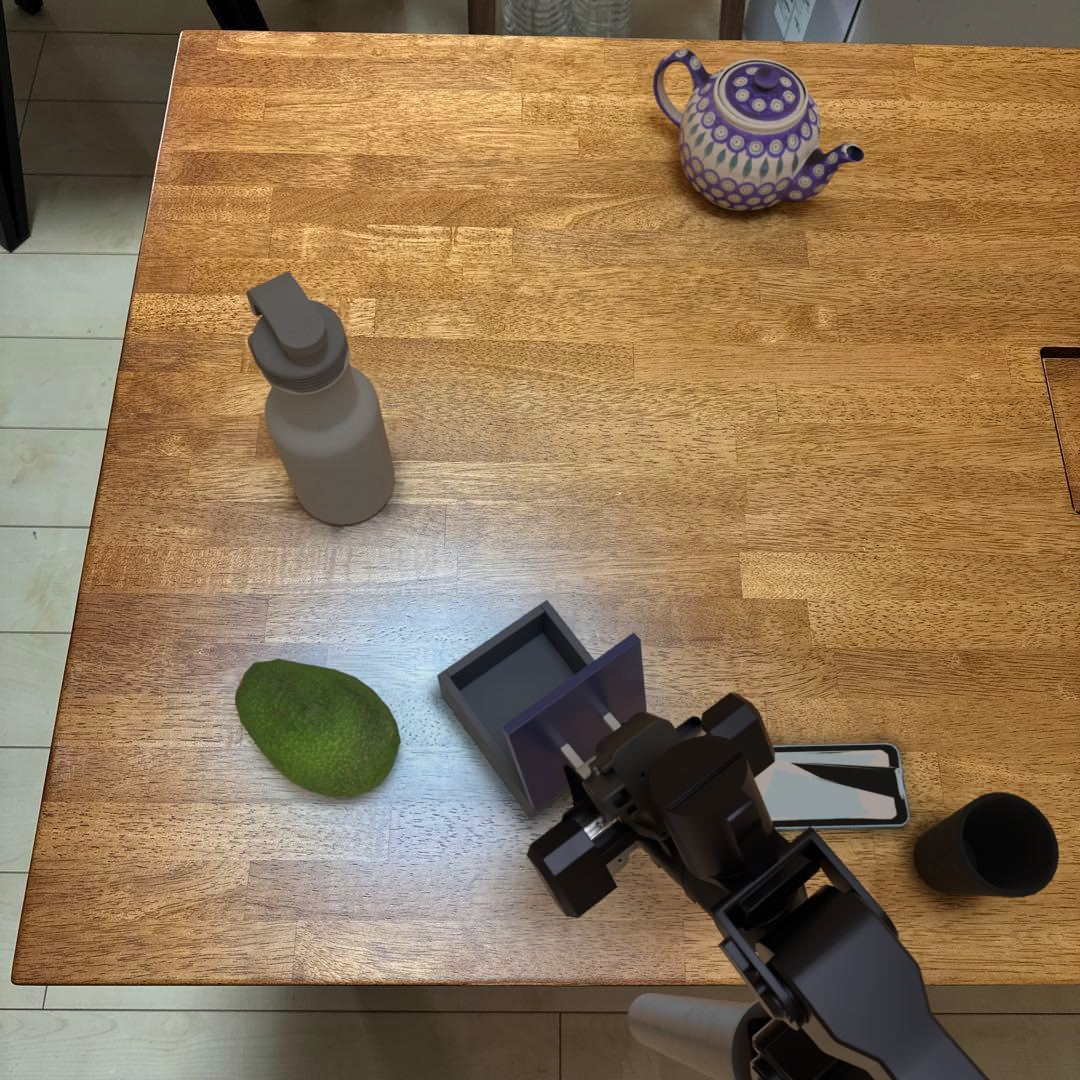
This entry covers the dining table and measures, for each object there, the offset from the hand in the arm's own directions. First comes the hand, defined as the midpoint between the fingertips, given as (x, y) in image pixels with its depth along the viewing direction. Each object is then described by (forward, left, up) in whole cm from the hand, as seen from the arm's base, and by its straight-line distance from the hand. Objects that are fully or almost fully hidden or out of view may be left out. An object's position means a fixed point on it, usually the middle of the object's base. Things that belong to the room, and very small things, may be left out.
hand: (595, 748), depth 77 cm
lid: (+2, +1, +1) cm, 2 cm away
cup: (-9, -30, -13) cm, 34 cm away
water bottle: (+31, +21, -13) cm, 39 cm away
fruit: (+6, +23, -13) cm, 27 cm away
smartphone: (-2, -20, -13) cm, 24 cm away
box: (+6, +4, -13) cm, 15 cm away
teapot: (+67, -24, -13) cm, 72 cm away
